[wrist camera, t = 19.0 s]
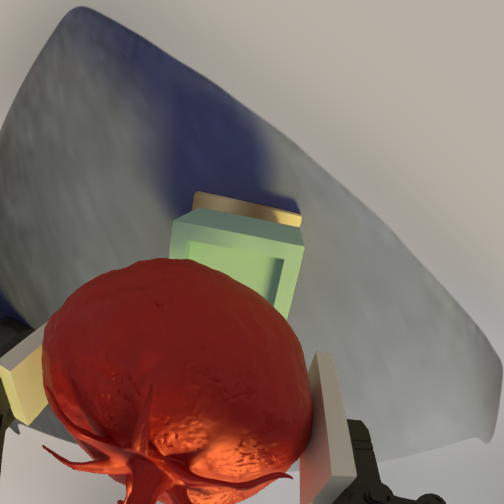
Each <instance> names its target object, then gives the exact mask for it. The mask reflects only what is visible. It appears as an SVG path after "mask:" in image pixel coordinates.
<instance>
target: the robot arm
mask: <svg viewBox="0 0 504 504" xmlns="http://www.w3.org/2000/svg"><path fill="white" fill-rule="evenodd" d="M46 324H47V322H46V323H45V324H44V325H42V326H41V327H40V328H38V329H37V330H35V329H33V328H31V329H28V328H26V327H25V326H24V325H23V324H21V323H20V322H18V321H16V320H14V319H11V318H4V319H2V320H0V472H1V462H2V452H3V444H4V437H5V431H6V429H7V428H8V427H9V426H10V425H11V424H12V423H13V421H14V420H15V419H16V418H17V419H19V420H20V421H22V422H23V423H25V424H26V425H28V426H29V425H30V423H31V422H32V421H33V420H34V419H35V418H36V417H37V415H38V414H39V413H40V412H41V411H42V410H43V409H44V407H45V406H46V405H47V404H48V401H47V398H46V395H45V390H44V387H43V375H42V372H43V371H42V362H41V357H42V341H43V337H44V328H45V326H46ZM308 378H309V383H310V390H311V397H312V409H313V424H312V430H311V435H310V440H309V442H308V445H307V447H306V448H305V450H304V452H303V453H302V455H301V456H300V504H446V502H445V501H444V500H443V499H442V498H441V497H440V496H438V495H435V494H424V495H422V496H420V497H419V498H418V499H417V500H410V499H406V498H401V497H397V496H394V495H393V493H392V491H391V490H390V489H389V487H388V486H386V485H384V484H383V483H381V480H380V476H379V472H378V467H377V463H376V458H375V454H374V451H373V446H372V443H371V438H370V434H369V430H368V429H367V428H366V426H365V425H364V424H363V422H362V421H361V420H350V419H346V414H345V409H344V404H343V399H342V394H341V390H340V385H339V380H338V376H337V371H336V367H335V362H334V358H333V354H329V353H324V352H319V351H316V353H315V356H314V358H313V361H312V363H311V366H310V369H309V371H308Z"/></svg>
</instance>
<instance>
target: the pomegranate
mask: <svg viewBox="0 0 504 504" xmlns="http://www.w3.org/2000/svg"><path fill="white" fill-rule="evenodd" d="M41 362H42V371H43V372H42V375H43V387H44V390H45V395H46V398H47V401H48V403H49V405H50V407H51V409H52V411H53V412H54V414H55V415H56V417H57V418H58V419H59V420H60V422H61V423H62V424H63V425H64V427H65V428H66V429H67V431H68V432H69V433H70V434H71V435H72V436H73V437H74V439H75V440H76V442H77V443H78V444H79V446H80V447H81V448H82V449H83V450H85V452H86V453H87V454H88V455H89V456H90V457H91V458H92V459H93V460H94V461H89V462H84V463H80V462H70V461H68V460H67V459H65V458H63V457H61V456H59V455H58V454H56V453H55V452H53V451H51V450H50V449H48V448H47V447H45V446H44V445H42V446H43V448H44V449H46V450H47V451H48V452H49V453H51V454H52V455H53V456H54V457H55V458H57V459H58V460H59V461H60V462H62V463H63V464H65V465H67V466H69V467H71V468H72V469H74V470H78V471H85V472H91V473H99V474H108V475H109V476H110V477H111V478H112V479H113V480H115V481H117V482H119V483H121V484H123V485H126V492H127V493H126V498H125V500H124V501H122V500H119V501H118V502H117V503H118V504H155V503H156V502H157V500H158V501H160V502H162V503H164V504H235V503H238V502H240V501H243V500H245V499H247V498H249V497H251V496H253V495H255V494H256V493H258V492H259V491H260V490H262V489H263V488H265V487H266V486H268V485H269V484H270V483H272V482H273V481H275V480H277V479H278V478H291V479H293V478H292V477H291V476H290V475H288V474H286V473H285V472H286V471H287V470H288V469H289V468H290V467H291V465H292V464H293V463H294V462H295V461H297V460H298V458H299V457H300V456H301V455H302V453H303V452H304V450H305V448H306V447H307V445H308V442H309V440H310V435H311V430H312V424H313V409H312V397H311V390H310V383H309V378H308V374H307V368H306V364H305V360H304V354H303V351H302V347H301V344H300V342H299V340H298V338H297V336H296V335H295V333H294V331H293V329H292V328H291V327H290V325H289V324H288V323H287V321H286V319H285V318H284V317H283V316H282V314H280V313H279V312H278V311H277V310H276V309H275V308H274V307H273V306H272V305H271V304H270V303H269V302H268V301H267V300H266V299H265V298H264V297H263V296H261V295H260V294H259V293H258V292H256V291H254V290H253V289H251V288H249V287H248V286H246V285H244V284H242V283H240V282H238V281H237V280H235V279H233V278H231V277H230V276H228V275H227V274H225V273H223V272H220V271H218V270H214V269H212V268H210V267H208V266H206V265H203V264H201V263H198V262H196V261H194V260H191V259H168V258H157V259H151V260H144V261H138V262H136V263H134V264H132V265H130V266H128V267H126V268H123V269H119V270H112V271H110V272H107V273H105V274H102V275H100V276H98V277H96V278H94V279H93V280H91V281H89V282H87V283H85V284H84V285H82V286H81V287H80V288H79V289H77V290H76V291H75V292H74V293H73V294H71V295H70V296H69V297H68V298H67V300H66V301H65V303H64V304H63V306H62V307H61V308H60V309H59V310H58V311H57V312H55V313H54V314H53V315H52V316H51V318H50V319H49V321H48V322H47V324H46V326H45V328H44V337H43V341H42V357H41Z"/></svg>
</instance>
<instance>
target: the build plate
mask: <svg viewBox="0 0 504 504" xmlns="http://www.w3.org/2000/svg"><path fill="white" fill-rule="evenodd" d="M197 208H204V209H209V210H215V211H220V212H225V213H231V214H236V215H241V216H246V217H251V218H256V219H261V220H266V221H271V222H276V223H281V224H286V225H291V226H296V227H300V223H301V219H302V215H301V214H298V213H294V212H290V211H285V210H281V209H277V208H273V207H268V206H264V205H260V204H255V203H251V202H247V201H242V200H238V199H233V198H228V197H224V196H219V195H215V194H210V193H205V192H200V191H198V192H195V194H194V200H193V205H192V211H193V210H195V209H197Z"/></svg>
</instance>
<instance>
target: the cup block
mask: <svg viewBox="0 0 504 504" xmlns="http://www.w3.org/2000/svg"><path fill="white" fill-rule="evenodd" d="M304 248H305V245H304V242H303V239H302V235H301V232H300V228H299V227H296V226H291V225H286V224H281V223H276V222H271V221H266V220H261V219H256V218H251V217H246V216H241V215H236V214H231V213H225V212H220V211H215V210H209V209H204V208H197V209H195V210H193V211H191V212H189V213H187V214H185V215H183V216H181V217H179V218H177V219H175V220H173V226H172V234H171V243H170V252H169V259H191V260H194V261H196V262H198V263H201V264H203V265H206V266H208V267H210V268H212V269H214V270H218V271H220V272H223V273H225V274H227V275H228V276H230V277H231V278H233V279H235V280H237V281H238V282H240V283H242V284H244V285H246V286H248V287H249V288H251V289H253V290H254V291H256V292H258V293H259V294H260V295H261V296H263V297H264V298H265V299H266V300H267V301H268V302H269V303H270V304H271V305H272V306H273V307H274V308H275V309H276V310H277V311H278V312H279V313H280V314H282V316H283V317H284V318H285V319H286V321H287V317H288V313H289V309H290V306H291V302H292V298H293V294H294V290H295V286H296V282H297V278H298V274H299V269H300V265H301V261H302V257H303V253H304Z"/></svg>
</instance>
